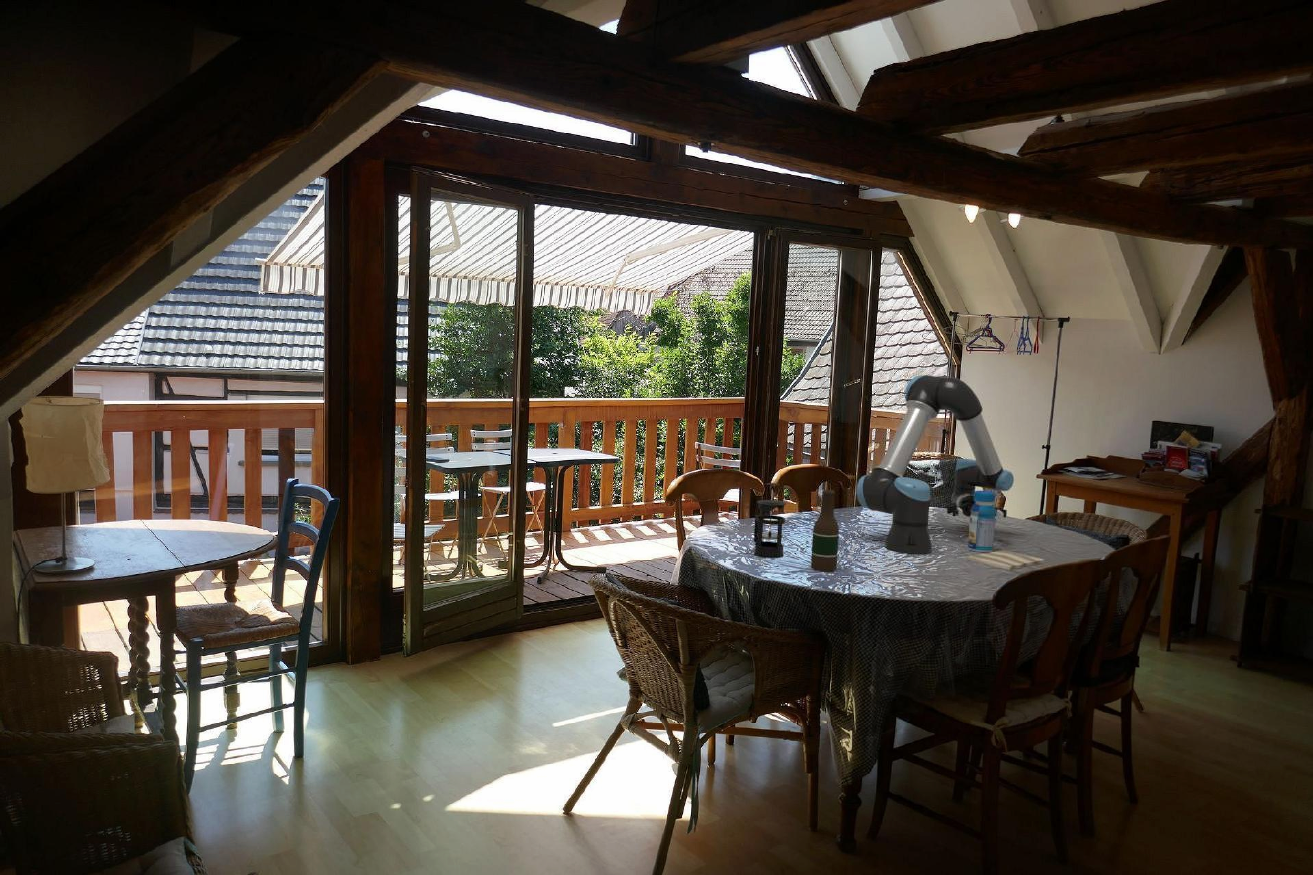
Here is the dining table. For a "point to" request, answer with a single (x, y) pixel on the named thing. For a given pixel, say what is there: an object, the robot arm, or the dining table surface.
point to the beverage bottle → (982, 522)
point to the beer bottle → (825, 536)
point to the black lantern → (766, 547)
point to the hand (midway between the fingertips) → (981, 515)
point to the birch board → (1005, 559)
